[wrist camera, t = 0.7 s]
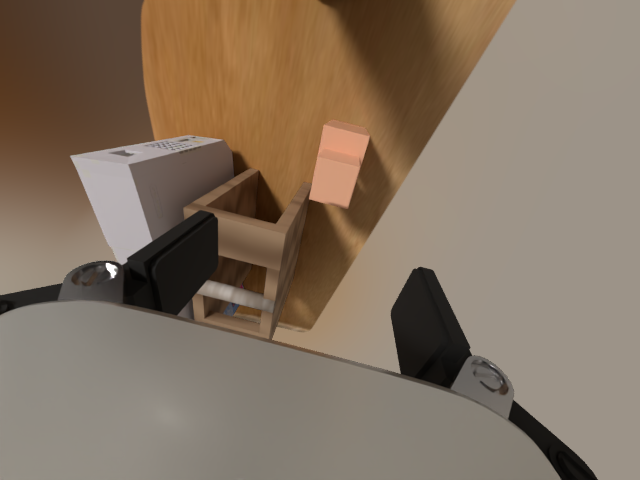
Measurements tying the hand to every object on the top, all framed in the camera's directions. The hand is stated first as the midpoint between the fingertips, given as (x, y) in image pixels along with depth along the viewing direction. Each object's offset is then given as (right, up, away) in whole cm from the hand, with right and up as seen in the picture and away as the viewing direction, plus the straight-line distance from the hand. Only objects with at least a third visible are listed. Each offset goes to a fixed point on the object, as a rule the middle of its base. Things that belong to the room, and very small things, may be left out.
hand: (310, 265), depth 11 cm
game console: (-18, +7, +34) cm, 39 cm away
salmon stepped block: (+4, +15, +25) cm, 30 cm away
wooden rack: (-8, +3, +34) cm, 35 cm away
